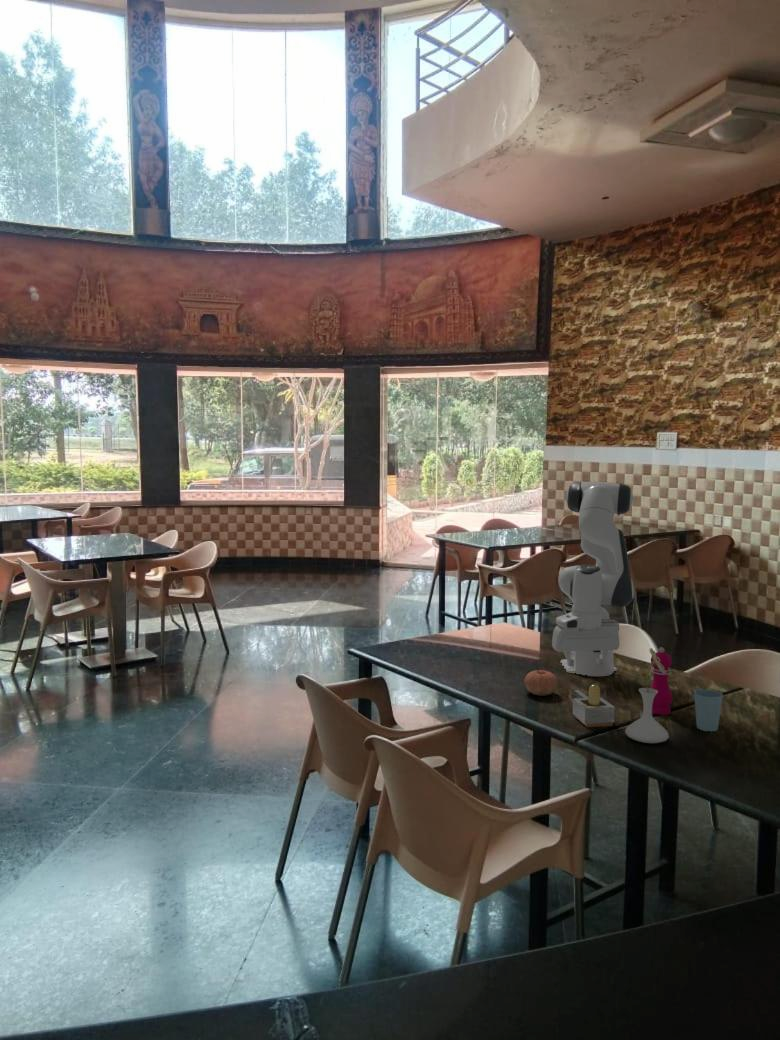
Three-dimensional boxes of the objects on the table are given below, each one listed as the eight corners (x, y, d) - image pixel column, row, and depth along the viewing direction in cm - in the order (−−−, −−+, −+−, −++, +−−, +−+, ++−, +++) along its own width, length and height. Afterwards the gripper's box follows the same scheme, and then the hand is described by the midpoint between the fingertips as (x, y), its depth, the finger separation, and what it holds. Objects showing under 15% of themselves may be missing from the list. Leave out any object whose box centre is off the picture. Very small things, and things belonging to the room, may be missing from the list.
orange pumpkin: (561, 699, 244) (562, 674, 244) (528, 699, 244) (528, 675, 243) (552, 689, 255) (553, 665, 254) (520, 689, 254) (521, 666, 254)
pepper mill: (656, 716, 228) (658, 650, 226) (642, 708, 235) (644, 645, 233) (677, 714, 230) (679, 649, 228) (662, 706, 237) (664, 643, 235)
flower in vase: (664, 750, 201) (667, 657, 199) (620, 742, 206) (623, 652, 204) (672, 735, 212) (675, 647, 210) (631, 727, 218) (633, 642, 216)
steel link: (562, 705, 235) (562, 690, 235) (589, 703, 236) (590, 689, 236) (584, 723, 218) (585, 708, 218) (614, 722, 220) (614, 706, 219)
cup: (688, 723, 222) (690, 688, 221) (715, 724, 221) (717, 689, 220) (697, 732, 214) (699, 696, 213) (725, 733, 213) (727, 697, 213)
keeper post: (575, 717, 226) (576, 681, 225) (600, 716, 227) (601, 680, 226) (586, 727, 218) (587, 689, 217) (612, 725, 219) (613, 688, 219)
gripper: (614, 616, 232) (613, 660, 233) (550, 618, 229) (549, 663, 230) (624, 621, 225) (622, 666, 227) (558, 623, 222) (557, 669, 224)
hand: (585, 664), depth 228 cm, fingers open, 8 cm apart
